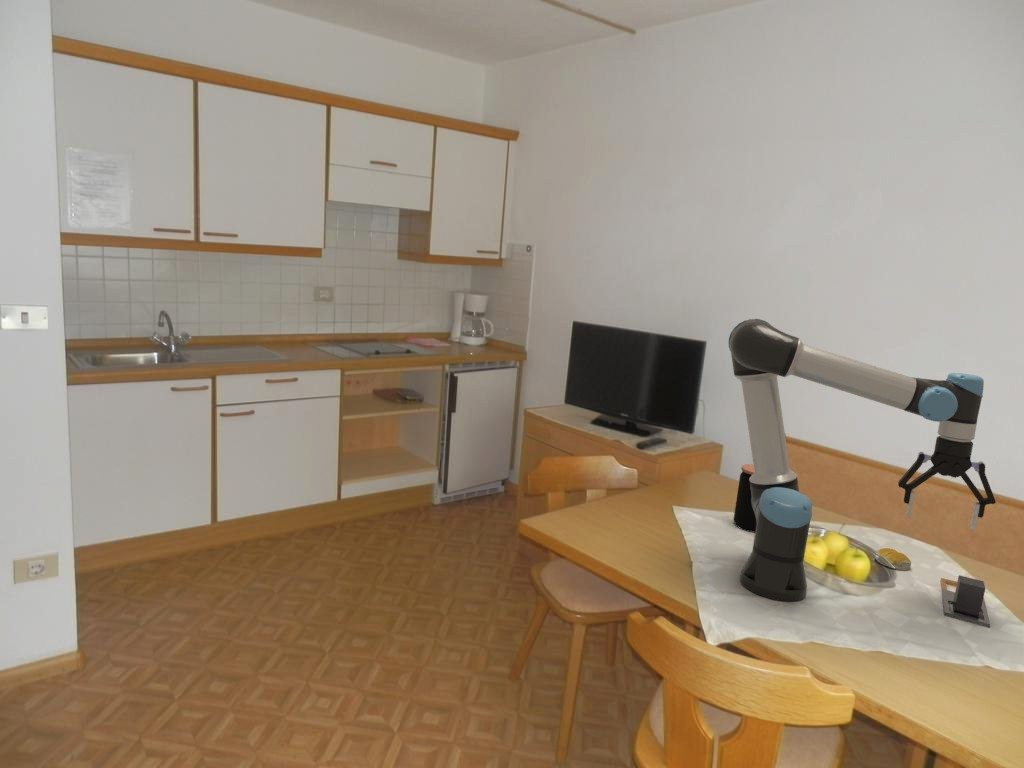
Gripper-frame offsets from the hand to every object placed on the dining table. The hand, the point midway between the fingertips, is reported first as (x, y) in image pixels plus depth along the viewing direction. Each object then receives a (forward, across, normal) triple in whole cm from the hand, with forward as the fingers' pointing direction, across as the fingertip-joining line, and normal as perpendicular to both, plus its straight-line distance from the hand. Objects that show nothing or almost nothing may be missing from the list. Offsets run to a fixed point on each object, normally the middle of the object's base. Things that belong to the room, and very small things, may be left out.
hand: (939, 522), depth 173 cm
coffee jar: (+18, +46, -21) cm, 53 cm away
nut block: (+19, -8, +6) cm, 21 cm away
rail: (+19, -8, -1) cm, 21 cm away
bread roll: (+19, +8, -18) cm, 27 cm away
